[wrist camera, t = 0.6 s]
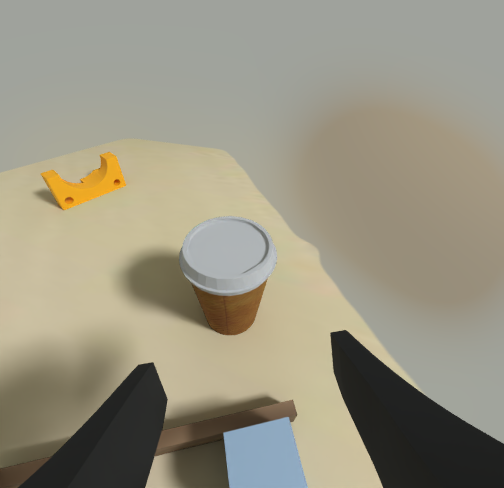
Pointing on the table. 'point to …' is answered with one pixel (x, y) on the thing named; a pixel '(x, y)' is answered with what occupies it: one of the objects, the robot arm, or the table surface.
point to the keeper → (264, 456)
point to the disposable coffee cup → (228, 270)
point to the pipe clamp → (86, 183)
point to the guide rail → (176, 437)
